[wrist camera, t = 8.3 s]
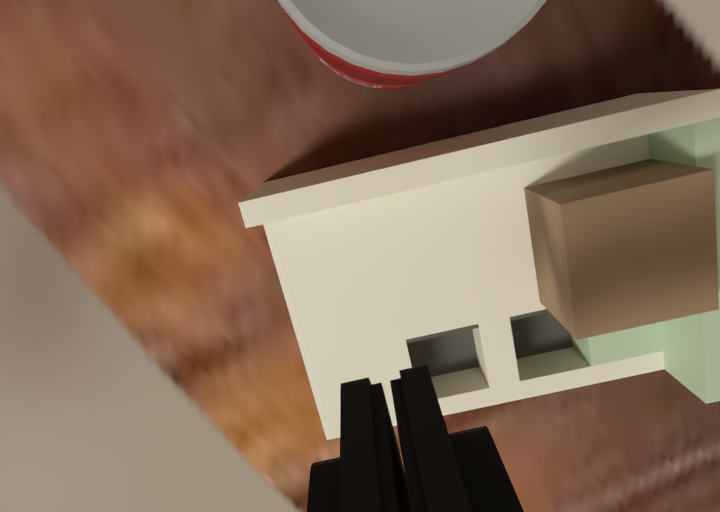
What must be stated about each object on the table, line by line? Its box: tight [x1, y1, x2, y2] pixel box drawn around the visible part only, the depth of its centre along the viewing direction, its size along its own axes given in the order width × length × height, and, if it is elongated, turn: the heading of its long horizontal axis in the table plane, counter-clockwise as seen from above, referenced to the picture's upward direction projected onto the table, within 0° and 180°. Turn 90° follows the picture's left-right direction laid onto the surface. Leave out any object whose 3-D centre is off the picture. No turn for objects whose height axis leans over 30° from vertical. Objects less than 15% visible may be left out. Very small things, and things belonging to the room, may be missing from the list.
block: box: [524, 159, 719, 340], centre depth 21 cm, size 6×6×4 cm
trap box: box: [238, 89, 720, 440], centre depth 23 cm, size 13×18×6 cm
